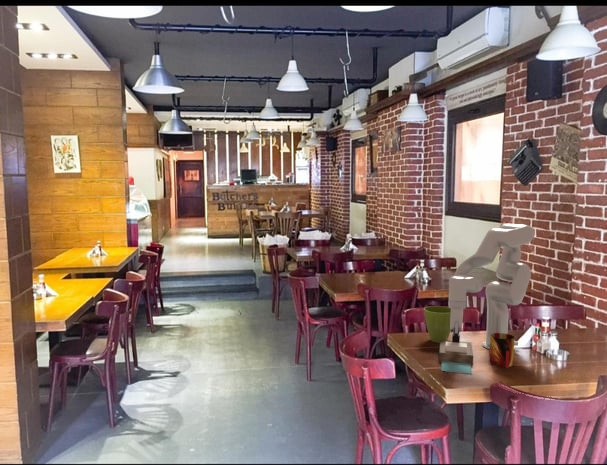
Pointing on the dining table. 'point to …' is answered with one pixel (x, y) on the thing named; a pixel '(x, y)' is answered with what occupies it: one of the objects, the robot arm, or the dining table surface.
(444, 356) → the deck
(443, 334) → the flower pot
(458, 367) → the mat
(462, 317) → the robot arm
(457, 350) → the cream rectangular block
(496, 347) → the mug
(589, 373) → the dining table surface
